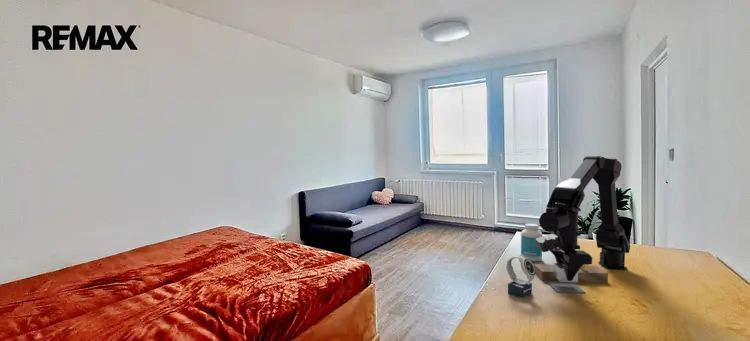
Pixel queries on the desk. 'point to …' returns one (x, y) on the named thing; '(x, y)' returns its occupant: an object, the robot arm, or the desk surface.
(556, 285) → the pad
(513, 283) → the watch
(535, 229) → the pill bottle
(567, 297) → the desk surface
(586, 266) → the tan wooden flat block
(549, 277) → the body
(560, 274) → the grey knobbed cube
